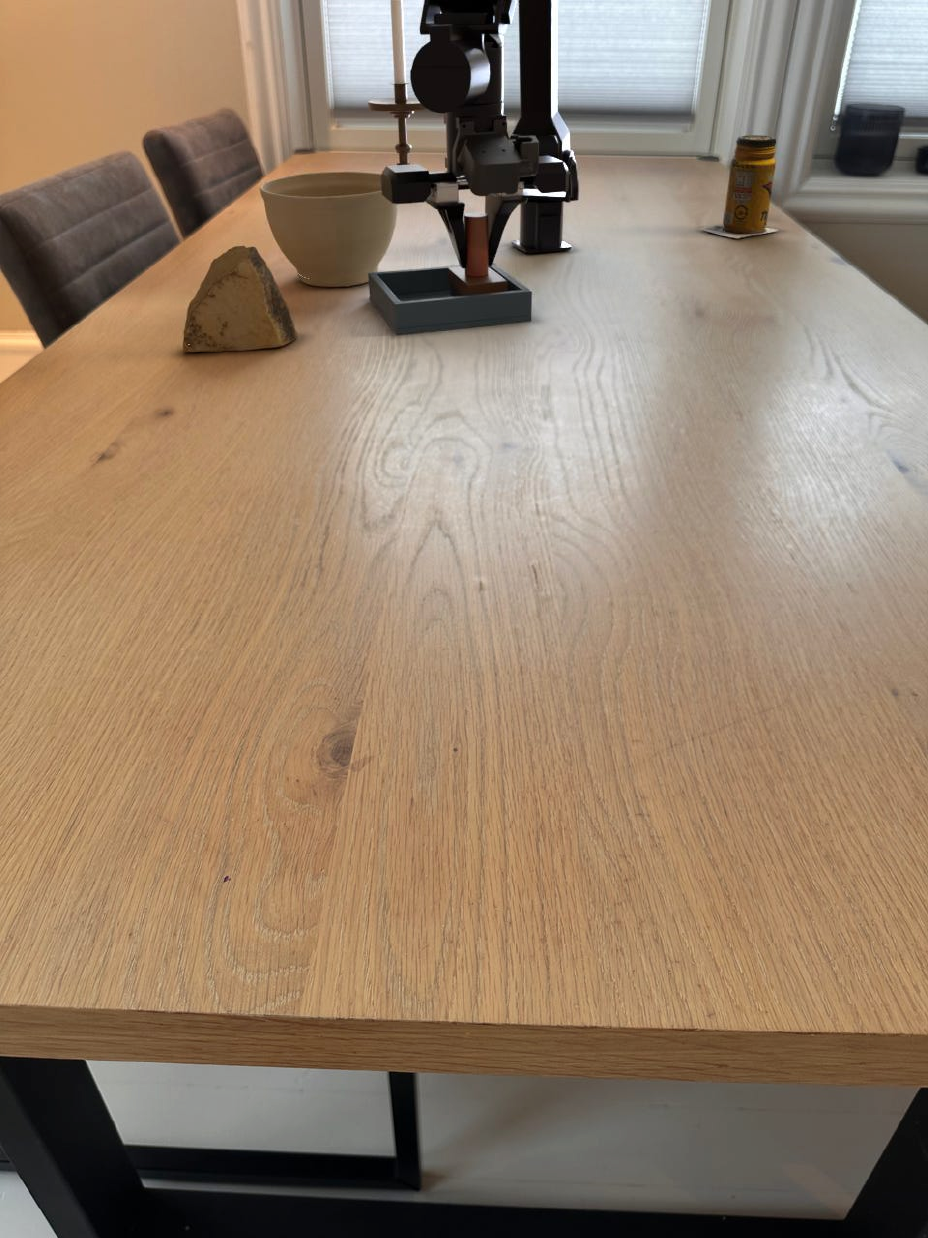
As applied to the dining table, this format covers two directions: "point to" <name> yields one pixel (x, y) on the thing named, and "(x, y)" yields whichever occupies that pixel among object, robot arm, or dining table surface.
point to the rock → (238, 307)
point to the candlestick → (398, 86)
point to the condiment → (748, 188)
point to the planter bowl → (330, 224)
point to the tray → (443, 301)
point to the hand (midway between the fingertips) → (476, 266)
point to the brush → (475, 261)
